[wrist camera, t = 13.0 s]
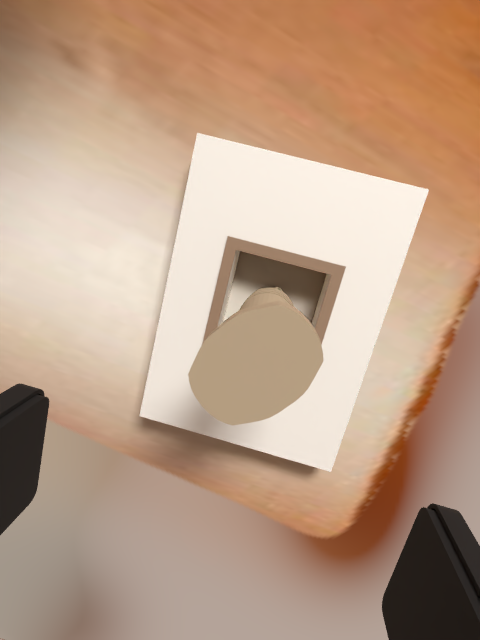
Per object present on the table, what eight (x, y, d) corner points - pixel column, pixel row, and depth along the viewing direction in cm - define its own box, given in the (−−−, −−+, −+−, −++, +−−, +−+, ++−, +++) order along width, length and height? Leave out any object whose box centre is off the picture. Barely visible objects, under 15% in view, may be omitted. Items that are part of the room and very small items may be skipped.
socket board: (206, 141, 31) (196, 132, 28) (415, 193, 30) (429, 189, 27) (151, 400, 37) (138, 417, 34) (327, 451, 36) (331, 473, 33)
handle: (321, 303, 33) (344, 367, 18) (258, 350, 34) (233, 443, 20) (283, 256, 32) (276, 283, 18) (221, 305, 34) (168, 367, 19)
